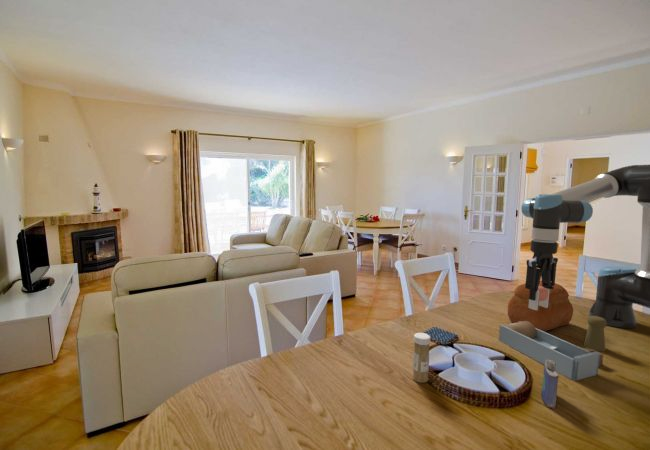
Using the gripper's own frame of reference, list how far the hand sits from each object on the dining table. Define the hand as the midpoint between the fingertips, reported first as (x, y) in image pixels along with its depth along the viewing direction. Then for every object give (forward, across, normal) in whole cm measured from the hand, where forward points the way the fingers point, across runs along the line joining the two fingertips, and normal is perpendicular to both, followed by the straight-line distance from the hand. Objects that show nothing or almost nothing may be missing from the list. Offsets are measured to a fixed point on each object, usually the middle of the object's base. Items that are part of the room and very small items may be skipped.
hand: (538, 307), depth 114 cm
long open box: (+15, +2, +4) cm, 16 cm away
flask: (+16, +23, +18) cm, 33 cm away
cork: (+15, -21, +8) cm, 27 cm away
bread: (+15, -24, -14) cm, 32 cm away
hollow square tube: (+15, -8, +14) cm, 22 cm away
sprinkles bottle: (+16, +48, -3) cm, 51 cm away
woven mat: (+16, +23, -21) cm, 35 cm away
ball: (-5, 0, 0) cm, 5 cm away
